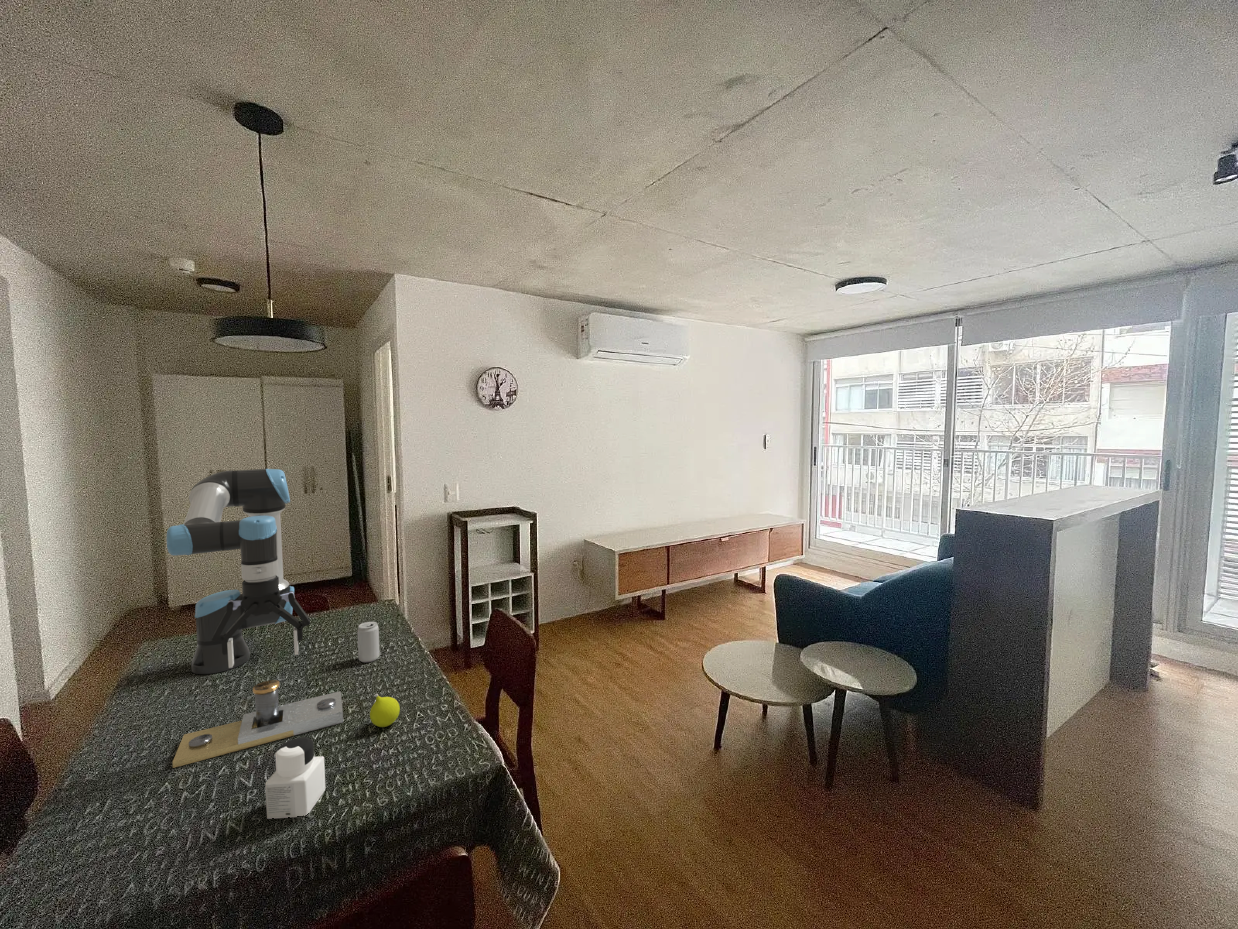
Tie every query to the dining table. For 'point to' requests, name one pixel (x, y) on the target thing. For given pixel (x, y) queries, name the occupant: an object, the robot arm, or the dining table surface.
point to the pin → (266, 703)
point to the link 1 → (217, 743)
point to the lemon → (384, 711)
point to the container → (295, 780)
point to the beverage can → (368, 642)
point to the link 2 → (296, 718)
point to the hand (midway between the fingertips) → (264, 659)
